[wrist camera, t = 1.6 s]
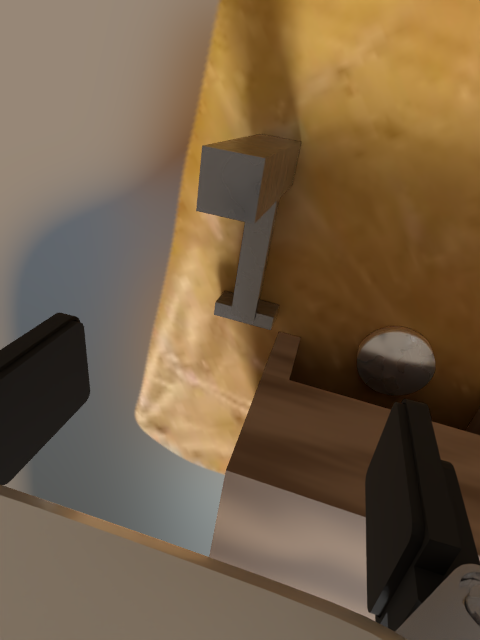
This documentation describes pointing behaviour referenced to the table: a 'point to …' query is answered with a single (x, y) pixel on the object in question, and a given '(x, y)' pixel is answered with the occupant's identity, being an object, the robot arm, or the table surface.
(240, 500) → the wooden bridge block
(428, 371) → the steel token
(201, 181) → the hoe
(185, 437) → the table surface
